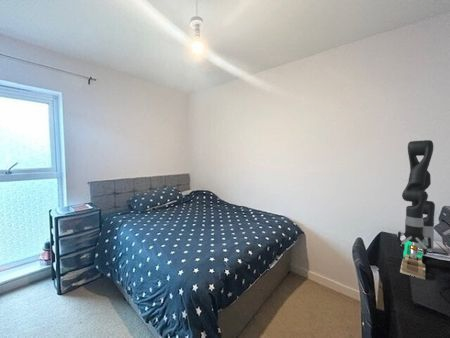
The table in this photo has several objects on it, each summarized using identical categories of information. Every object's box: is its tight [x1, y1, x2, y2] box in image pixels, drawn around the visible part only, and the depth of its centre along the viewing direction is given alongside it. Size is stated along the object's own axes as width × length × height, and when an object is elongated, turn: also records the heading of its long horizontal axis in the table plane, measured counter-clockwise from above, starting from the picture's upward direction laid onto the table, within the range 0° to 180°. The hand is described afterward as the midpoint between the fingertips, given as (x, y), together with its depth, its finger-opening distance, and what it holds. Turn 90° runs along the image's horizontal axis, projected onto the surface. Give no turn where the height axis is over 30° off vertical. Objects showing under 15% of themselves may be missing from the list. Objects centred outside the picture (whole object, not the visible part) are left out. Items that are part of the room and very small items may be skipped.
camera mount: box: [403, 241, 424, 259], centre depth 124 cm, size 12×8×10 cm, turn 131°
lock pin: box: [410, 244, 419, 260], centre depth 115 cm, size 3×3×10 cm
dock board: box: [399, 255, 426, 280], centre depth 111 cm, size 18×10×5 cm, turn 135°
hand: (413, 252), depth 115 cm, fingers open, 8 cm apart
